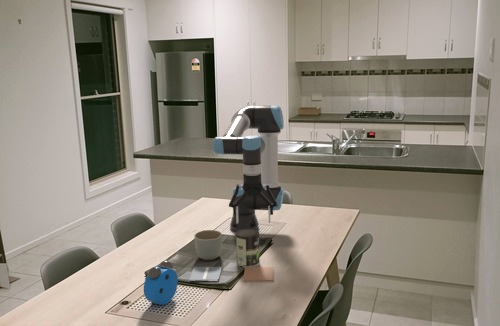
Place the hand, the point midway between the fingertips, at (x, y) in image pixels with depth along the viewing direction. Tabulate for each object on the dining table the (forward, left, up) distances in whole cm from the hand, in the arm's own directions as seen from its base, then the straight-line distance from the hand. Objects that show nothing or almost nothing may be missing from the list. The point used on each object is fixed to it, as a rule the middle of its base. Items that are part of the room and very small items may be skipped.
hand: (253, 222), depth 197 cm
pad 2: (+8, +2, -20) cm, 22 cm away
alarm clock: (+31, -33, -20) cm, 49 cm away
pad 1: (+8, -20, -20) cm, 29 cm away
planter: (-10, -21, -20) cm, 31 cm away
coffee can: (-4, -3, -20) cm, 21 cm away
